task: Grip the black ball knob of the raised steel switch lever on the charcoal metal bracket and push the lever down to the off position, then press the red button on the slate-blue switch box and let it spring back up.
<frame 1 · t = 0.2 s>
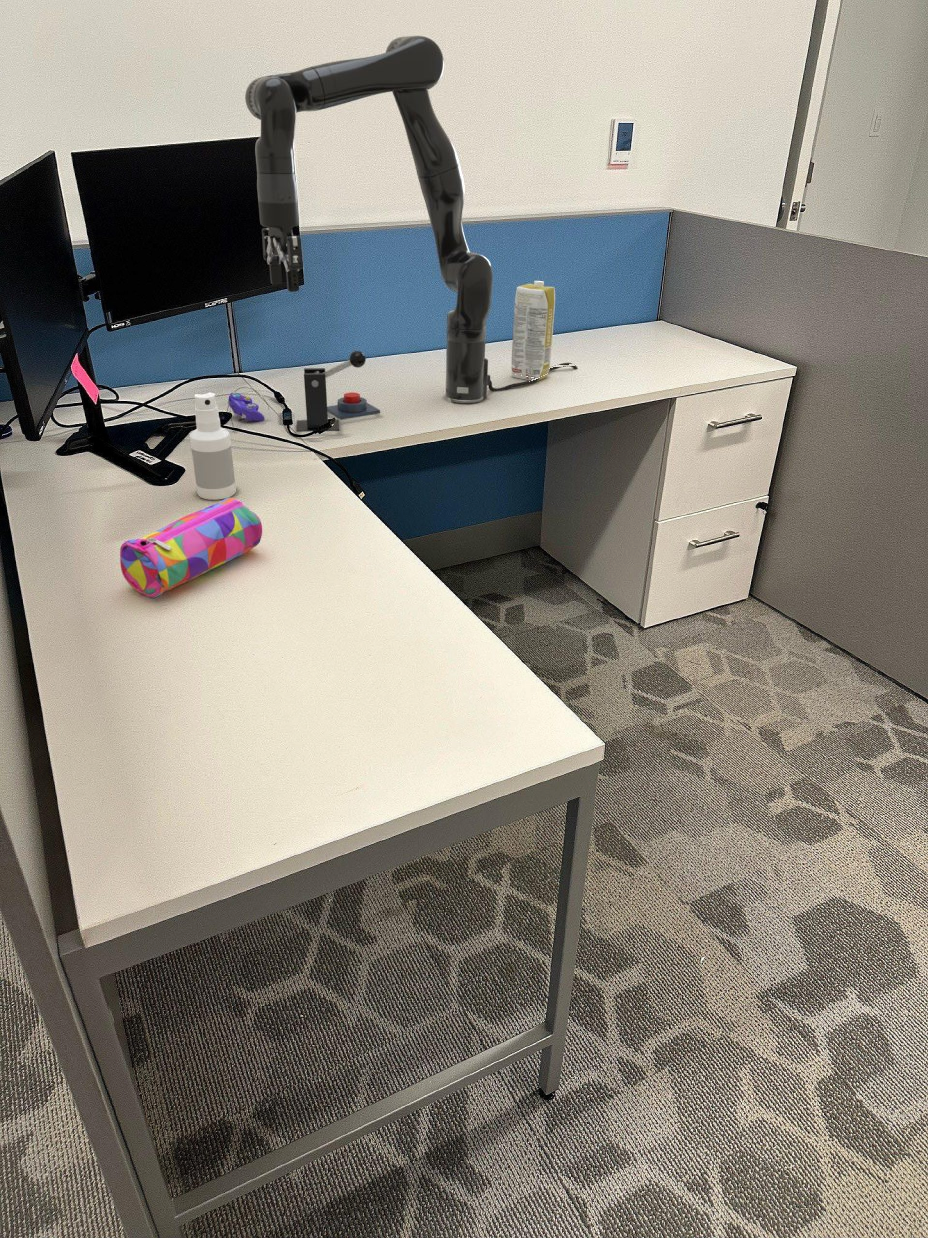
hand: (284, 287, 175), 29 cm above the table, tool pointing down, fingers open, 8 cm apart
stop button: (352, 398, 196), point 4 cm above the table, slide at 0.1 cm
pencil case: (197, 573, 131), on the table
switch bracket: (318, 430, 189), on the table
juice carton: (529, 377, 230), on the table
spray bottle: (217, 494, 157), on the table
button box: (352, 415, 198), on the table
switch lever: (336, 369, 182), point 13 cm above the table, hinge at 25.0°
game controller: (242, 424, 191), on the table
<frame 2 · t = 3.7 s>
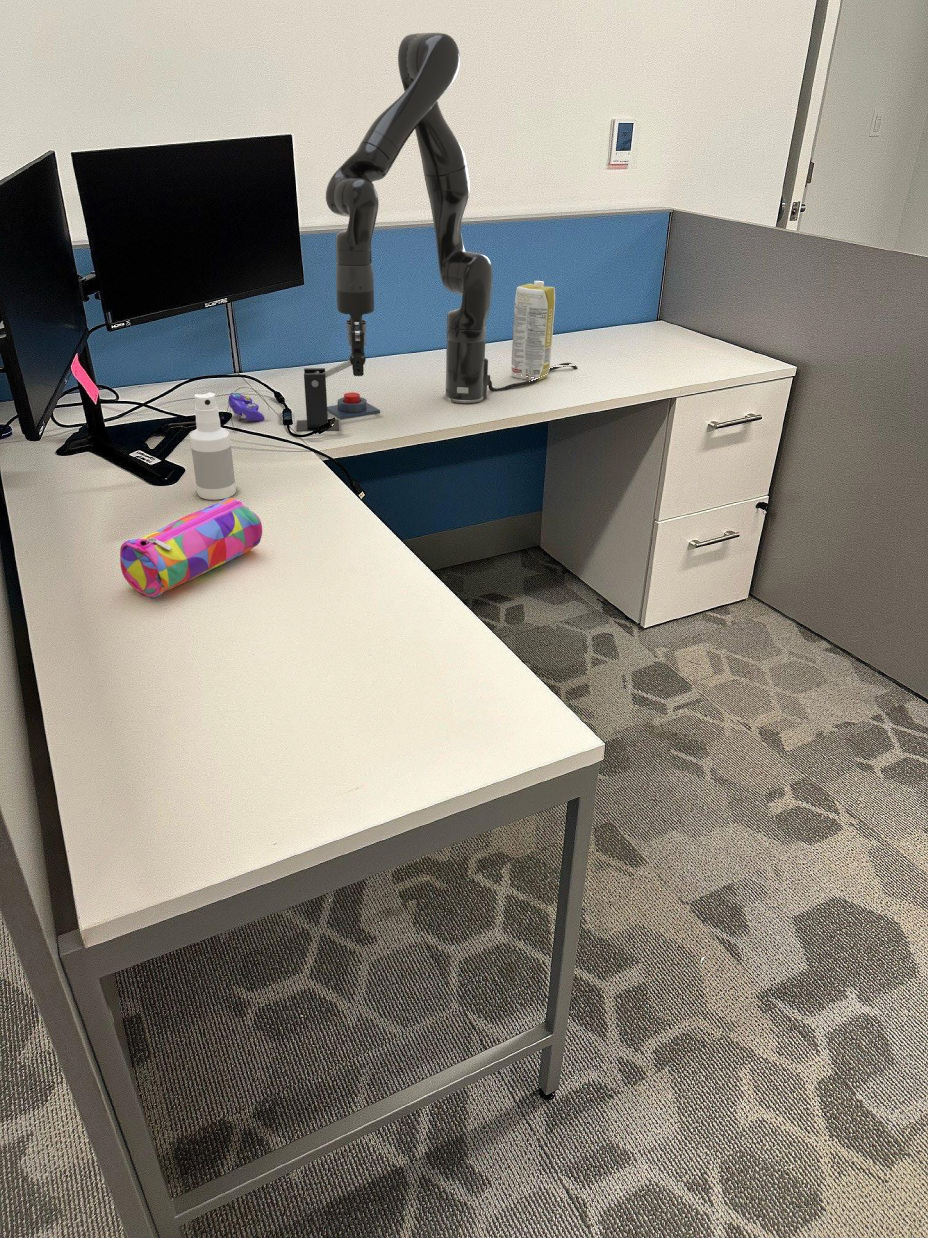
hand: (358, 372, 183), 12 cm above the table, tool pointing down, fingers closed on switch lever, 3 cm apart
switch lever: (336, 369, 182), point 13 cm above the table, hinge at 24.9°, touching gripper
everything else where it was.
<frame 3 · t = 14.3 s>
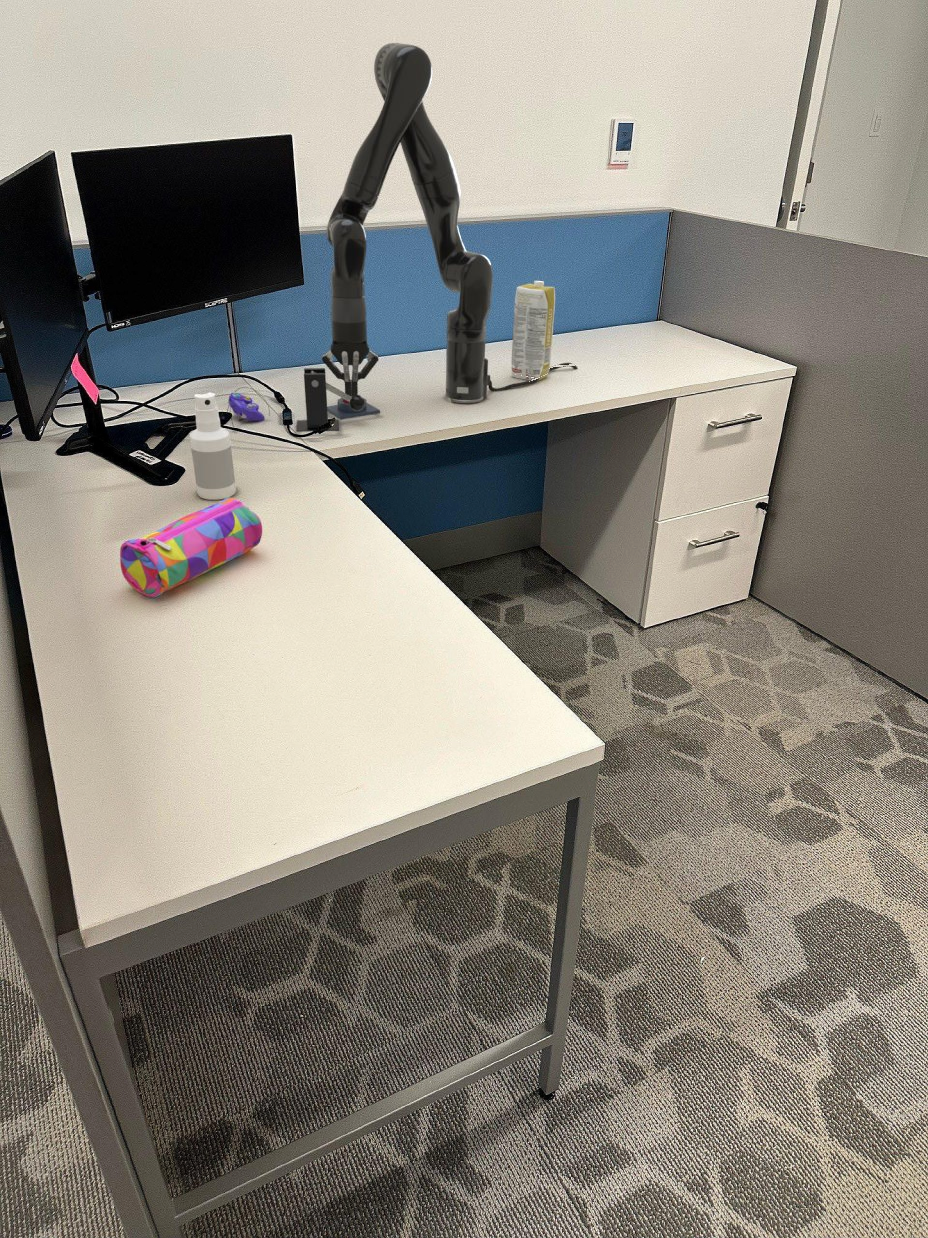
hand: (351, 397, 196), 4 cm above the table, tool pointing down, fingers closed
stop button: (352, 400, 196), point 3 cm above the table, slide at -0.4 cm, touching gripper
switch lever: (336, 391, 185), point 8 cm above the table, hinge at -30.5°
everything else where it was.
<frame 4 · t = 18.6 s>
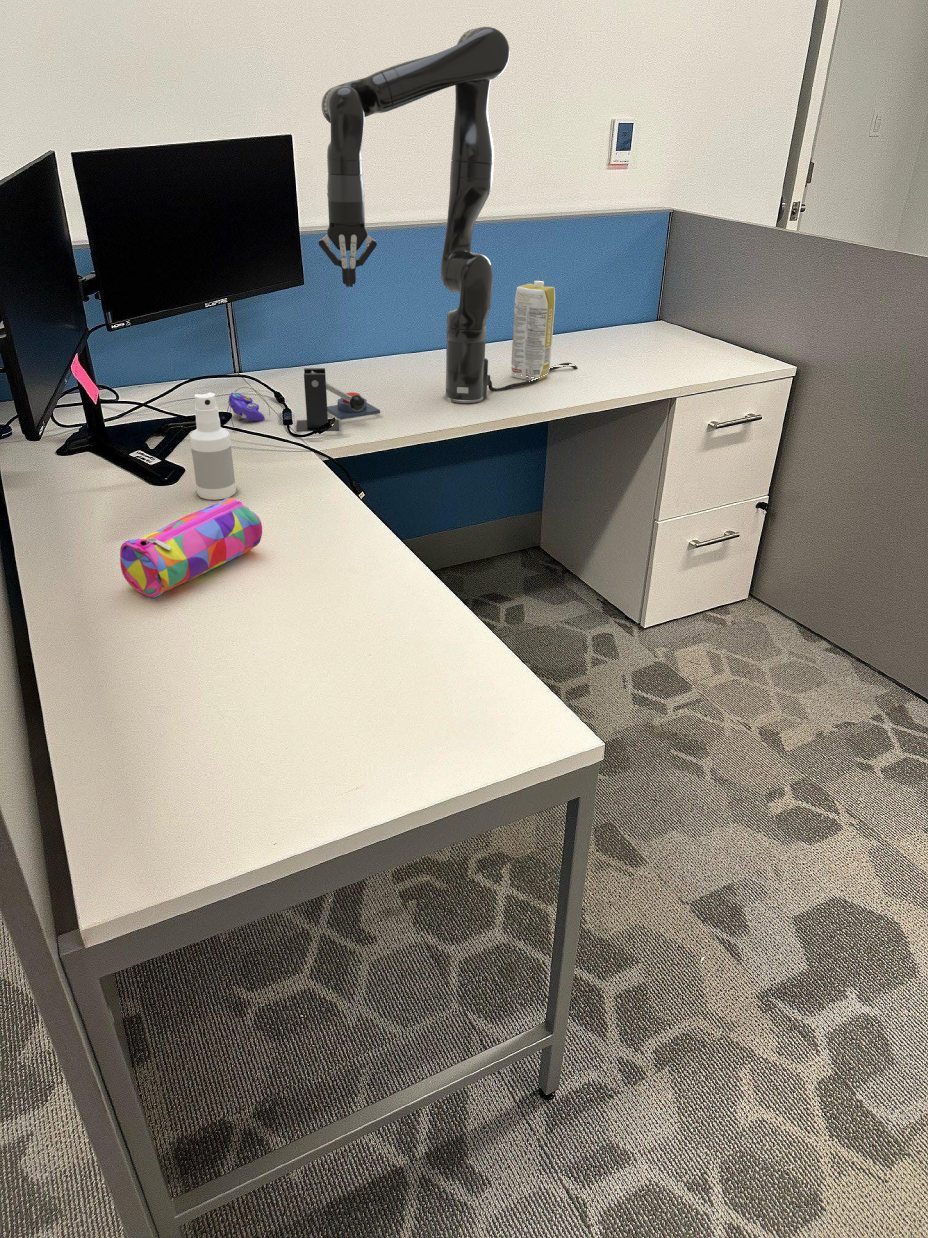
hand: (349, 286, 189), 27 cm above the table, tool pointing down, fingers closed
stop button: (352, 398, 196), point 4 cm above the table, slide at 0.1 cm
everything else where it was.
at the end: switch lever at -30° (first picture: +25°); stop button pushed in 1.1 cm at the most during the clip, back to where it started at the end; stop button slide at 0.1 cm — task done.
